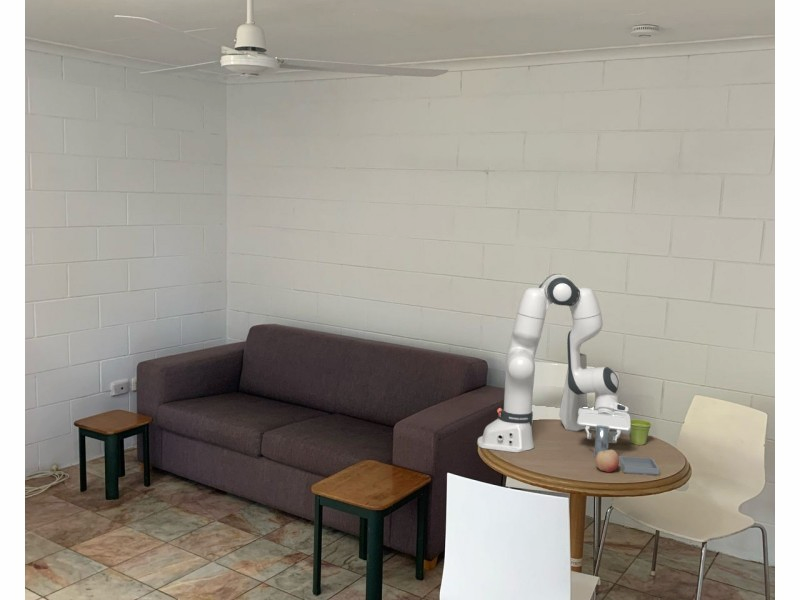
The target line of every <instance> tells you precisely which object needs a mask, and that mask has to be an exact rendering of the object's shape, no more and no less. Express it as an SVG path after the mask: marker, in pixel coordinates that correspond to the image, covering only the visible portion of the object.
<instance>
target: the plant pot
mask: <svg viewBox="0 0 800 600" xmlns="http://www.w3.org/2000/svg"><path fill="white" fill-rule="evenodd" d="M630 420H631V432H630V433H629V440H630V443H631V444H634V445H636V446H643V445H646V444H647V441H648V435H649V433H650V432H649V431H650V429H651V426H652V422H650V421H648V420H644V419H630Z"/></svg>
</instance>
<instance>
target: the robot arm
mask: <svg viewBox="0 0 800 600" xmlns="http://www.w3.org/2000/svg"><path fill="white" fill-rule="evenodd" d="M551 304H554V305H557V306H567V307H569V310H570V312H571V318H572V319H571V320H572V327H571V330H569V332H568V334H567V339H566V340H567V343H566V344H567V365H568V366H567V370H568V386H569V389H570V390H571V391H572V392H574V393H575V394H577V395H580V394H586V393H587V394H590V393H591V394H592V393H596V396H597V397H595V402H594V407H592V406H591V407H589V406H587V407H581V408H579V410H578V415H579V416H578V419H577V426H578V428H580V429H583V430H585V432H586V435H587V436H586V439H587V440H592V436H593V435H592V433H591V432H590V431H596V426H597V425H602V426H608V427H609V432H612V433H616V436H613V442H615V443H614V444H616V443H617V442H618V440H619V438H620V437H621V435H630V432H631V420H632V419H631V416H630V410H629V406H626V405H623V404H622V403H621V404H620V403H619V398H620V394H621V378H620V375H619V374H618V372H616V371H614V370H612V369H611V368H610V367H608V366H600V367H599V366H598V367H593V368H592V367H591V368H589V367H588V368H587V369H582V368H581V366H580V353H581V346H582V345H583V344H584V343H586V342H587V341H589V340H591V339H593V338H594V337H596V336H597V335H598V334H599V333H600V332H601V330H602V329H603V326H604V325H603V324H604V322H603V317H602V312H601V308H600V303H599V301H598V298H597V296H596V294H595V292H594V290H593V289H592V288H590V287H577V286H576V285H575V284H574V282H572V280H571V278H569V277H568V276H566V275H564V274H561V273H553V274H551V275H549V276H547V277H546V278H545V280H544V281H542V283H541V284H540V285H539V286H538V287H534V286H532V287H528V288H526V289H525V290H524V292H523V294H522V296H521V298H520V301H519V304H518V307H517V310H516V311H517V312H516V315H515V320H514V325H513V328H512V333H511V337H510V340H509V344H508V347H507V348H508V349H507V353H506V356H505V381H504V382H505V383H504V396H503V397H504V398H503V409H502V407H499V408H497V410H496V411H497V413H498V415H497V417H498V418H497V419H495V420H494V421H492V422H490V423H489V424H487V425H486V426H485V428H484V430H483V434H482V435H481V436H479V437H478V438H477V442H476V443H477V446H478V447H480V448H482V449H488V450H493V451H494V450H497V451H503V452H512V453H521V452H525V451H529V450H532V449H533V448H535V445H534V444H535V443H534V439H533V428H532V426H533V421H534V414H533V413H534V412H533V396H534V394H533V393H534V385H535V384H534V382H535V371H536V370H535V369H536V363H535V357H536V353H537V350H538V347H539V343H540V340H541V338H542V332H543V328H544V324H545V320H546V316H547V311H548V308H549V307H550V305H551ZM582 408H583V409H582Z"/></svg>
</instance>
